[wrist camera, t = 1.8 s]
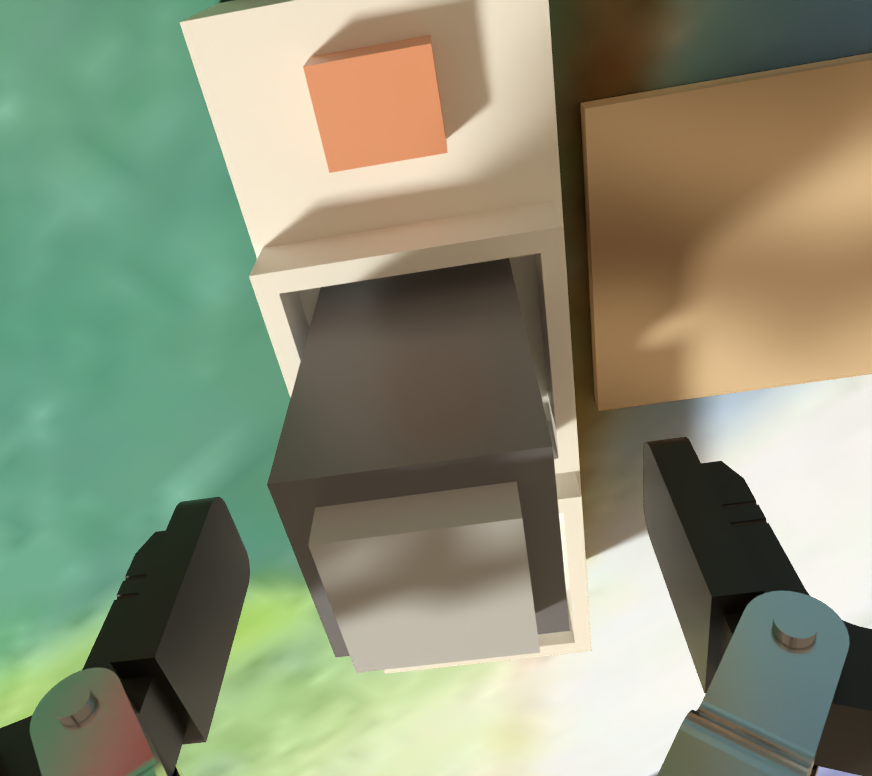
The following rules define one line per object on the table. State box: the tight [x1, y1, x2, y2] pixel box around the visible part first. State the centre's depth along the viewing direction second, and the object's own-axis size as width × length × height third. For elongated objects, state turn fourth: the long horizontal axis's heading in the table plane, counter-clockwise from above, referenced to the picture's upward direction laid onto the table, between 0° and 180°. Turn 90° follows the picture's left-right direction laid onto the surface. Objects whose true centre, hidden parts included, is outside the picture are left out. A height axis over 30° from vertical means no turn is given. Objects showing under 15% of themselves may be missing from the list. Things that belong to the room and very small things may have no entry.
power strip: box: [180, 0, 592, 674], centre depth 18 cm, size 24×7×4 cm, turn 10°
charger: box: [267, 258, 570, 673], centre depth 15 cm, size 4×4×8 cm
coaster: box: [580, 53, 872, 411], centre depth 19 cm, size 9×9×1 cm
